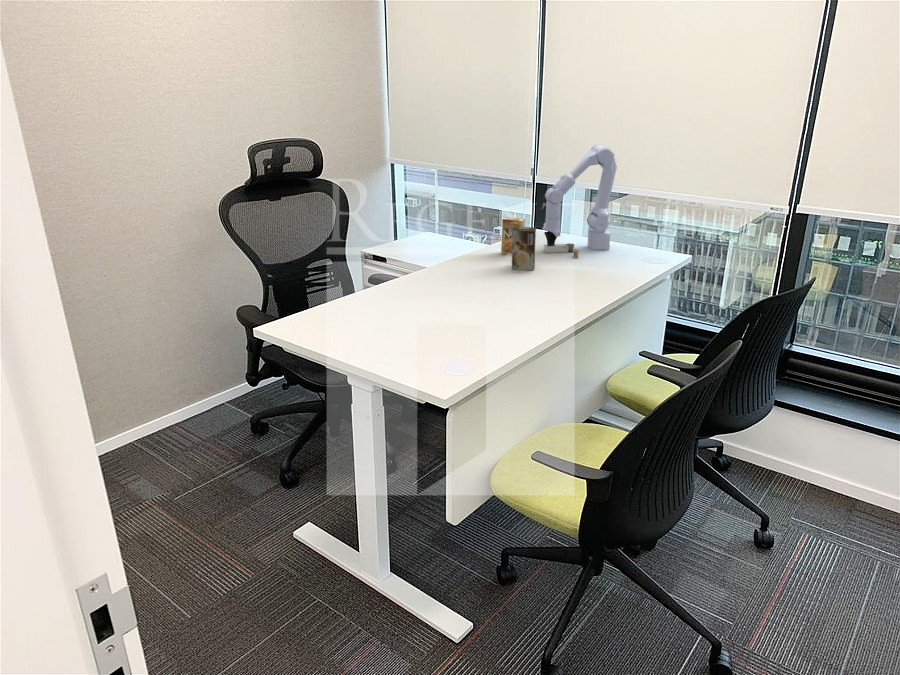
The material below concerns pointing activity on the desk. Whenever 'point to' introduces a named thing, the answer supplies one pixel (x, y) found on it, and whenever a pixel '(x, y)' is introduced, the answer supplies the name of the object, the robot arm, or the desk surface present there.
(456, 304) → the desk surface
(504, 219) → the candy box
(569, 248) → the bar
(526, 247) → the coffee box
